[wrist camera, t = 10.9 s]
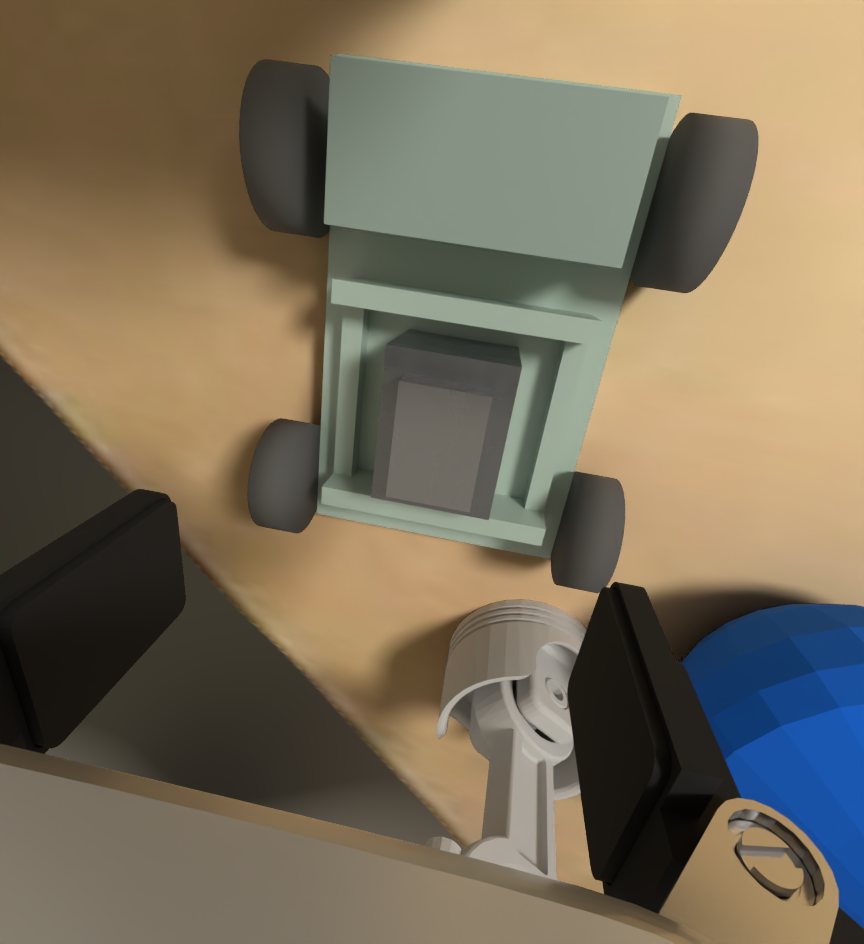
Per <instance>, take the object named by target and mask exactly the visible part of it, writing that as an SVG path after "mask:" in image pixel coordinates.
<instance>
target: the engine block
mask: <svg viewBox="0 0 864 944" xmlns="http://www.w3.org/2000/svg"><path fill="white" fill-rule="evenodd" d="M521 370H522V364H521V358H520V351H519V347H513V346H507V345H501V344H495V343H489V342H483V341H477V340H471V339H465V338H459V337H453V336H447V335H441V334H435V333H429V332H423V331H417V330H411V329H409V330H407V331H406V332H404V333H403V334H401V335H400V336H398V337H397V338H395V339H394V340H392V341H391V342H389V343H388V344H386V351H385V361H384V371H383V382H382V392H381V402H380V412H379V422H378V432H377V442H376V452H375V462H374V472H373V482H372V492H371V498H376V499H381V500H387V501H392V502H397V503H402V504H407V505H412V506H418V507H423V508H428V509H433V510H438V511H444V512H449V513H454V514H459V515H464V516H469V517H475V518H480V519H485V520H489V517H490V512H491V508H492V503H493V498H494V494H495V489H496V485H497V480H498V475H499V471H500V466H501V462H502V457H503V452H504V448H505V443H506V439H507V434H508V429H509V425H510V420H511V416H512V411H513V407H514V402H515V397H516V393H517V388H518V384H519V379H520V374H521Z"/></svg>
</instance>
